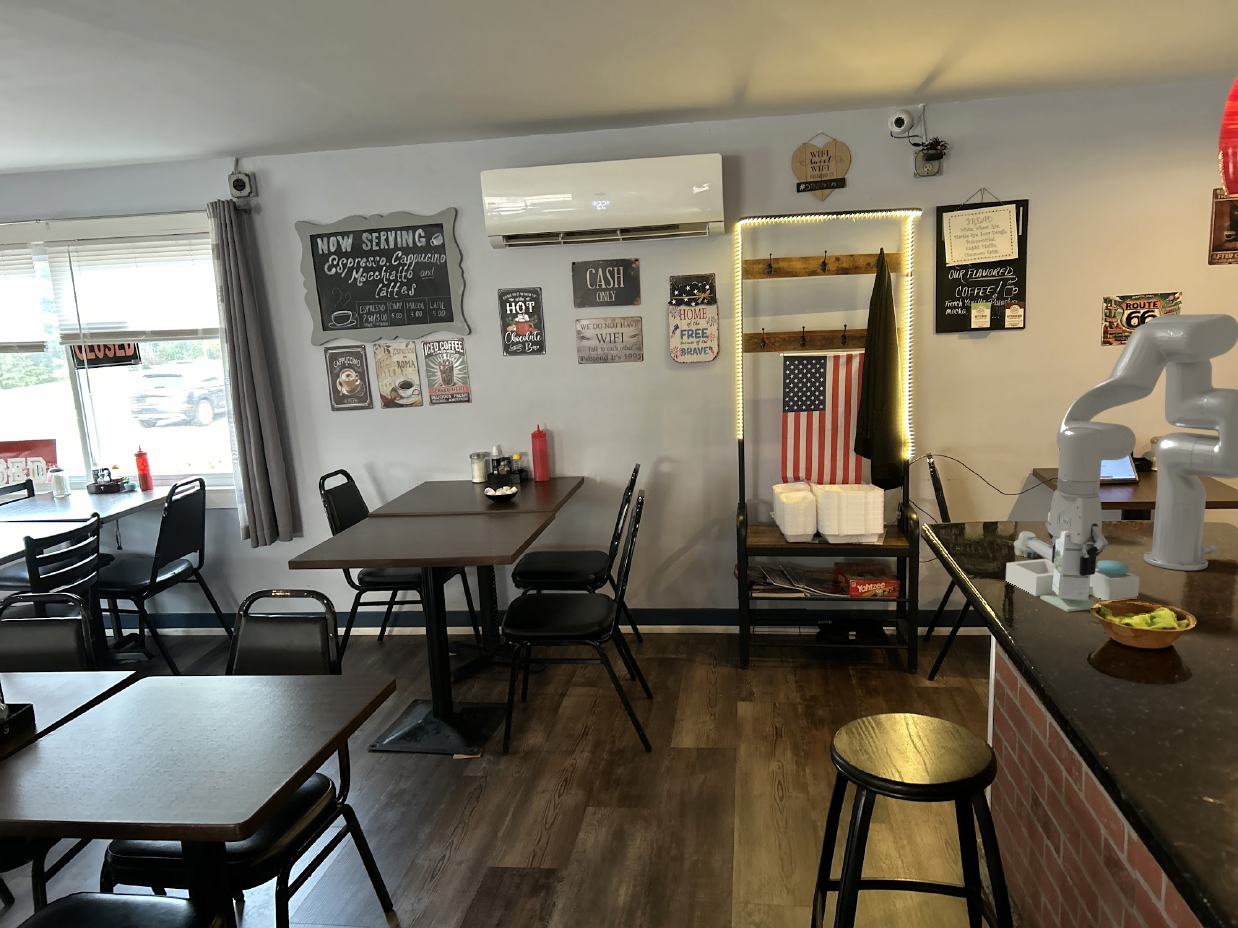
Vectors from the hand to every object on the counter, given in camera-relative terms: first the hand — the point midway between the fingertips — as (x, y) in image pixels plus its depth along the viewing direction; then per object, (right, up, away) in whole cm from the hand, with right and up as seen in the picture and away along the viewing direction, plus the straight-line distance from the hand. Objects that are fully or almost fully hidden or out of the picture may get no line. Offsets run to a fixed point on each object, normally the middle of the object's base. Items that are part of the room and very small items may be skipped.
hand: (1072, 568), depth 163 cm
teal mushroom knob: (+11, -6, +4) cm, 13 cm away
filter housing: (+4, -6, +9) cm, 11 cm away
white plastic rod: (+9, -3, +25) cm, 26 cm away
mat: (0, -8, +1) cm, 8 cm away
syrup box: (0, -6, +1) cm, 6 cm away
